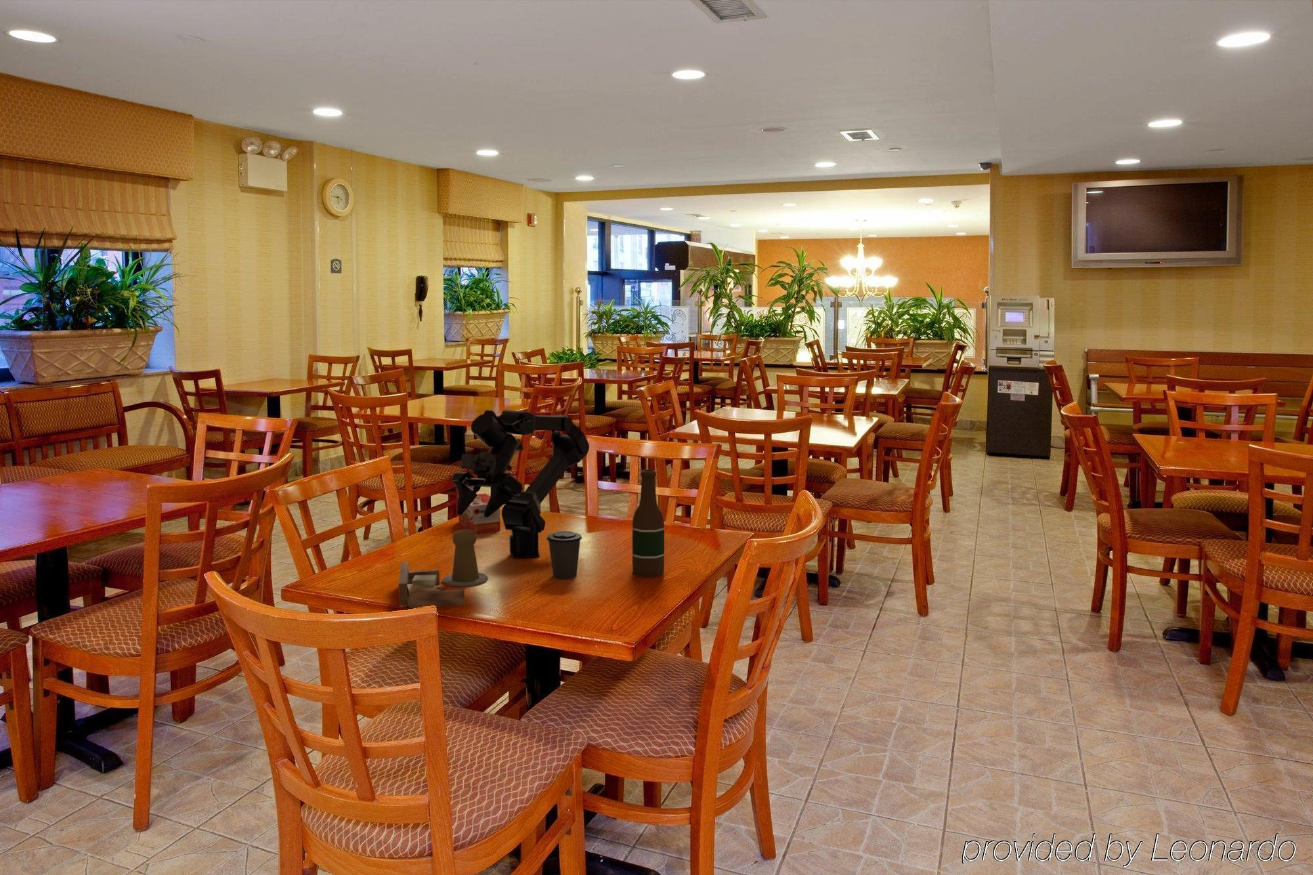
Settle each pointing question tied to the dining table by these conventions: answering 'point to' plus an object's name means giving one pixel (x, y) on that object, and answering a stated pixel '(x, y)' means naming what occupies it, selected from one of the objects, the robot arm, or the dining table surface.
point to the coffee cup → (564, 553)
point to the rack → (425, 589)
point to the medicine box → (480, 516)
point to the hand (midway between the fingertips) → (471, 515)
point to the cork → (464, 556)
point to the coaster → (448, 581)
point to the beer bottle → (648, 531)
